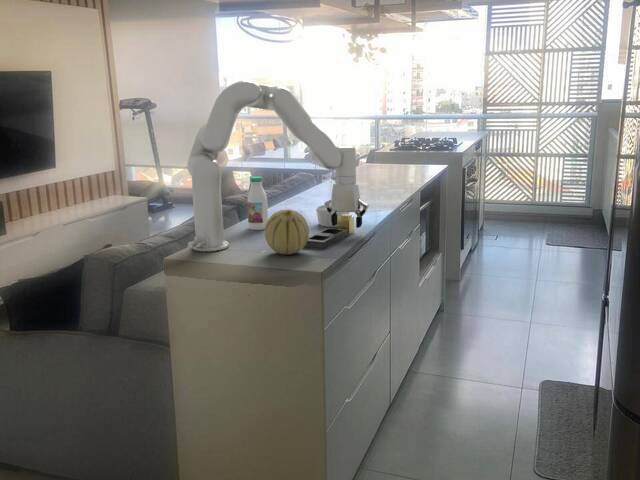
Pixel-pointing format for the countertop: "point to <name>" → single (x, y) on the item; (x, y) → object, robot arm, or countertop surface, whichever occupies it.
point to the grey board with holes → (326, 238)
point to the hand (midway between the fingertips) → (346, 226)
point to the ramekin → (327, 216)
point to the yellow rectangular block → (346, 223)
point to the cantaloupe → (286, 232)
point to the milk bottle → (257, 205)
